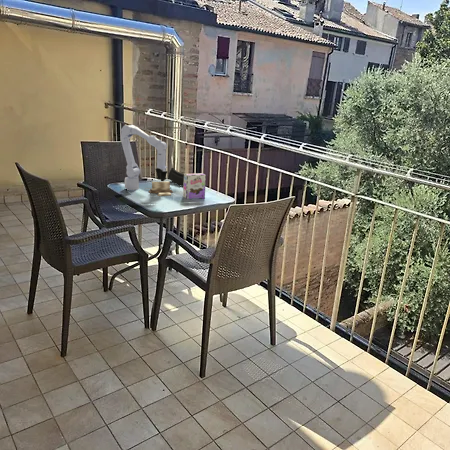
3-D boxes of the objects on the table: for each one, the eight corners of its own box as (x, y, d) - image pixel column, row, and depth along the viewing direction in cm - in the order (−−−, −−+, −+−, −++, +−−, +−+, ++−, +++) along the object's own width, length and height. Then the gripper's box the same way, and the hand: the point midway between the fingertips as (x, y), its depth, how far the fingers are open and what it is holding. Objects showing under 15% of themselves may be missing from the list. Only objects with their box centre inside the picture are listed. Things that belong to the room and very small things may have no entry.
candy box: (186, 199, 271) (186, 175, 266) (182, 197, 276) (183, 173, 271) (205, 198, 277) (206, 174, 272) (201, 196, 282) (202, 172, 277)
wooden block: (152, 194, 280) (152, 182, 278) (151, 193, 282) (152, 181, 280) (169, 193, 285) (169, 182, 283) (168, 192, 287) (169, 181, 285)
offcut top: (159, 195, 273) (159, 194, 272) (158, 194, 276) (158, 192, 276) (171, 195, 276) (171, 193, 276) (169, 194, 279) (169, 192, 279)
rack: (150, 194, 278) (150, 190, 277) (148, 192, 283) (148, 189, 282) (173, 193, 285) (173, 190, 284) (170, 191, 289) (170, 188, 288)
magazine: (195, 177, 299) (174, 159, 318) (191, 177, 297) (171, 159, 316) (190, 197, 308) (170, 179, 326) (186, 198, 306) (167, 179, 324)
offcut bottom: (157, 198, 273) (157, 196, 272) (156, 196, 276) (156, 194, 276) (172, 197, 277) (172, 195, 277) (170, 196, 280) (170, 194, 280)
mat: (147, 191, 286) (147, 190, 285) (144, 189, 292) (144, 188, 292) (169, 190, 292) (169, 190, 292) (166, 188, 299) (166, 187, 299)
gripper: (170, 161, 272) (169, 182, 276) (164, 158, 285) (163, 177, 289) (159, 161, 269) (159, 182, 273) (154, 158, 282) (153, 178, 286)
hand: (161, 180), depth 281 cm, fingers open, 7 cm apart
